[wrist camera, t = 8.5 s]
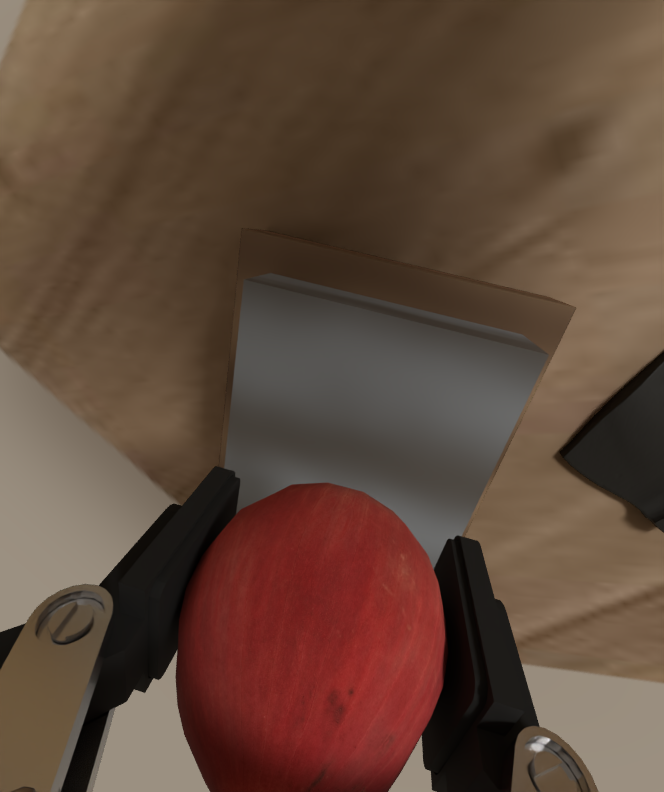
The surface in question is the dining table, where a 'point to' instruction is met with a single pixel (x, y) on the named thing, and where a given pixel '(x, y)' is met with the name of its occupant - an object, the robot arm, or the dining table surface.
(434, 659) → the onion
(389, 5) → the dining table surface
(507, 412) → the wood and metal stack
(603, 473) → the curved wedge
